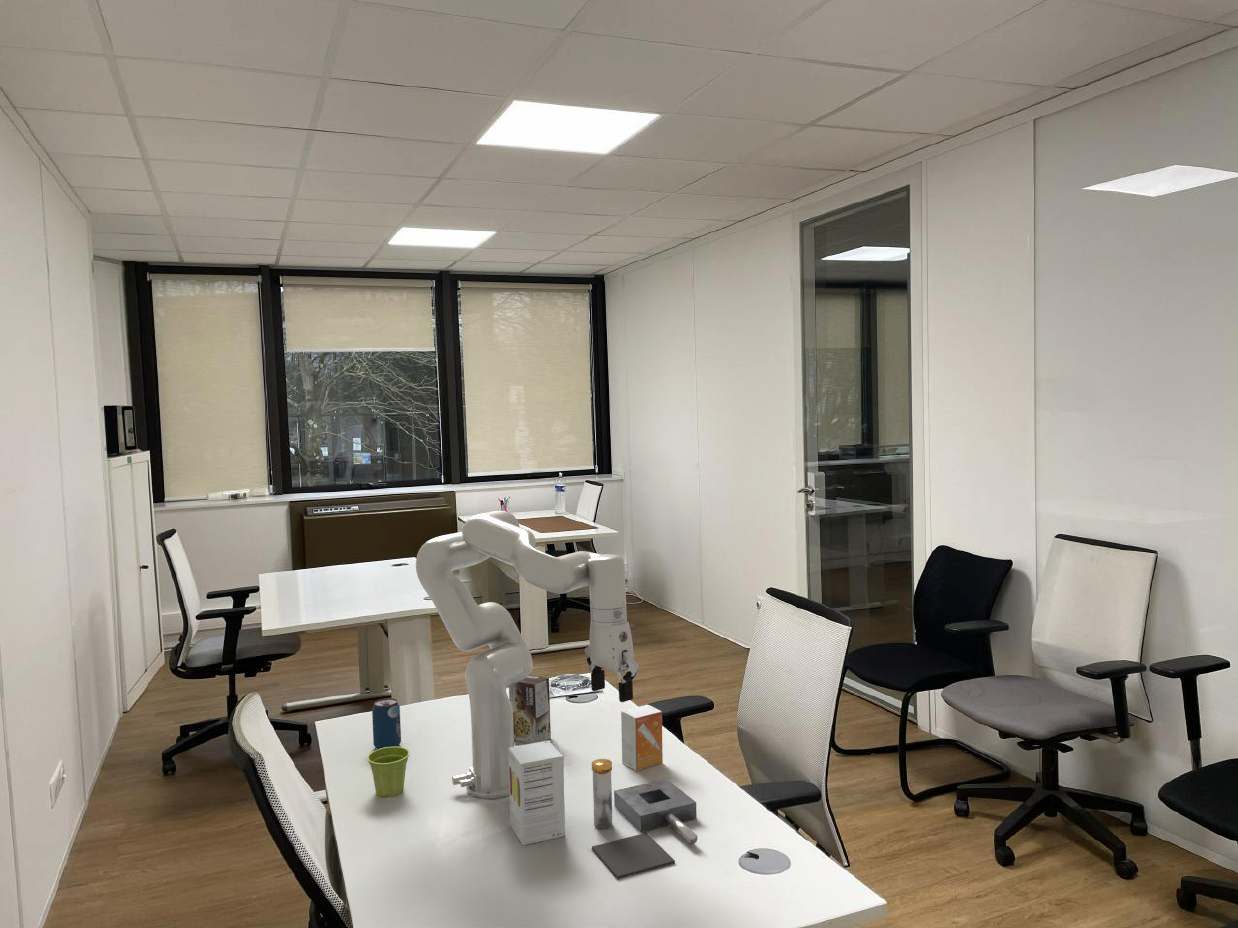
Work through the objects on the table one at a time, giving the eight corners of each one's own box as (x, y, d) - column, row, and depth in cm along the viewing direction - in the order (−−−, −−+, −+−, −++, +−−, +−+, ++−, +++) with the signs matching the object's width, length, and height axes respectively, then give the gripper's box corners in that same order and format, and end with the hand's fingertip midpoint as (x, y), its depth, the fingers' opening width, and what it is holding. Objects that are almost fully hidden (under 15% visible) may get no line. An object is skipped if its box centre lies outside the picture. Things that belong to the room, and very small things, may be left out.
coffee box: (552, 737, 224) (550, 677, 223) (537, 745, 219) (535, 684, 218) (524, 731, 229) (523, 672, 228) (509, 739, 224) (507, 679, 223)
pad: (617, 879, 155) (617, 876, 155) (591, 849, 166) (591, 846, 166) (674, 863, 160) (674, 860, 160) (646, 835, 171) (646, 832, 171)
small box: (636, 771, 202) (635, 718, 201) (621, 762, 207) (620, 710, 206) (663, 763, 206) (662, 710, 205) (648, 754, 212) (647, 703, 211)
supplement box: (509, 825, 177) (506, 746, 176) (551, 816, 181) (549, 738, 180) (522, 846, 168) (520, 763, 167) (566, 836, 172) (564, 755, 171)
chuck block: (663, 855, 163) (663, 837, 163) (614, 806, 184) (614, 790, 184) (721, 839, 169) (721, 822, 169) (667, 793, 190) (667, 778, 190)
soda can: (405, 748, 219) (403, 702, 219) (378, 754, 216) (376, 708, 215) (395, 739, 225) (394, 695, 224) (370, 746, 221) (368, 701, 221)
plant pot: (419, 790, 194) (417, 753, 194) (382, 804, 188) (381, 766, 187) (396, 778, 201) (395, 743, 200) (360, 792, 194) (359, 755, 193)
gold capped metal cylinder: (598, 831, 173) (596, 768, 173) (590, 822, 177) (588, 761, 176) (616, 827, 175) (615, 764, 174) (608, 818, 179) (606, 757, 178)
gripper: (648, 617, 172) (652, 700, 173) (599, 605, 186) (602, 682, 187) (619, 624, 168) (622, 709, 169) (570, 610, 182) (574, 689, 183)
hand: (612, 694), depth 178 cm, fingers open, 9 cm apart
